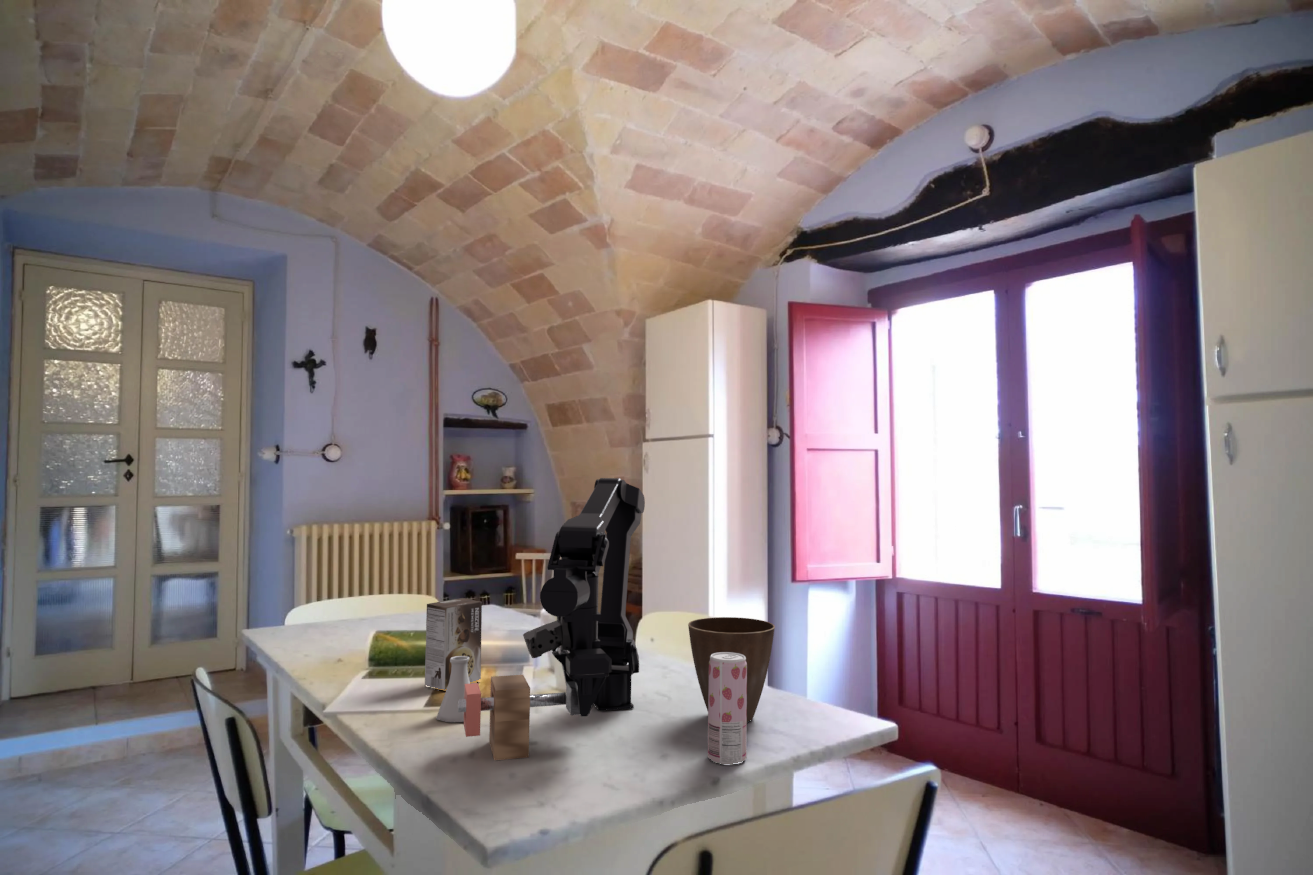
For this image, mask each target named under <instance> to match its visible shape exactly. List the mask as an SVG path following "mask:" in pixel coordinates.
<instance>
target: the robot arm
mask: <svg viewBox="0 0 1313 875" xmlns="http://www.w3.org/2000/svg"><path fill="white" fill-rule="evenodd" d="M645 499H646V498H645V495H644V493H643V492H642V490H641V489H640V488H639V487H637V486H634V485H632V484H629V483H627V481H626V480H624V479H621V478H619V477H617V478H615V477H614V478H613V477H609V478H608V477H600V478H599V479H596V480H595V482H594V487H593V490H592V492H591V494H590V495H589V497H588V499H587V501H586V503H585V504H584V507H583V508H582V509H581V512H580V513H579V514H578V515H577V516H574V517H572V518H571V517H570V518H568V519H567V520H566V521H565V522H564V523H563V524H562V525H561V527H559V530H558V531H557V532H556V533H555V536H554V541H553V545H552V548H551V550H550V551H551V552H550V555H549V556H550V557H549V559H548V564H547V570H548V571H553V575H552V576H553V577H551V578H548V580H546V581H545V582H544V584H543V585H542V587H541V590H540V592H539V601H540V604H541V606H542V608H543V609H544V611H545V612H546V613H547V614H549V615H551V616H553V617H556V620H553V621H552V622H548V623H545V624H543V625H541V626H538V627H535V628H533V629H530V630H528V631H526V632H524V633H523V634H522V636H523V639H524V642H525V645H526V648H527V651H528V654H529V655H530V657H531V658H532V659H537V658H540V657H542V656H543V654H546V653H549V652H551V654H552V656H553V657H554V658H555V659H556V660H557V661H558V662H559V664H561V667H562V672H563V676H564V681H565V684H566V682H570V681H574V682H575V684H576V691H577V698H578V705H579V711H580V717H588V716H589V715H590V714H589V712H590V713H591V710H592V707H593V706H594V707H595V708H596V709H597V710H598V711H602V712H603V711H613V710H614V711H616V710H627V709H628V710H629V709H630V710H631V709H634V707H635V706H634V704H633V702H632V676H633V675H634V674H638V673H640V656H639V652H638V648H637V646H636V642H635V640H634V639H633V638H634V631H633V628H632V627H631V624H630V622H629V620H628V618H627V616H626V613H627V612H626V609H627V598H628V596H627V595H628V582H629V580H628V579H629V569H630V568H629V567H630V551H631V538H632V536H633V534H634V533H635V532H636V530H637V529H638V527H639V526H640V524H641V519H642V514H643V513H644V511H645V503H646V502H645V501H646V500H645ZM602 567H603V574H602V584H601V586H602V588H601V598H600V599H601V601H600V611H599V585H600V584H599V581H600V580H599V579H600V576H599V572H600V569H601V568H602Z"/></svg>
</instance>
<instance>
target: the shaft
mask: <svg viewBox="0 0 1313 875" xmlns="http://www.w3.org/2000/svg"><path fill="white" fill-rule="evenodd" d="M565 688H566V689H565V690H566V691H563V692H551V693H549V692H547V693H537V694H535V693H534V694H533V693H532V694H530V708H537V707H551V706H553V707H554V706H562V705H563V706H564V705H565V709H566V710H567V712H568V714H569V715H570V716H578V715H580V711H579V705H578V698H577V691H576V684H575V682H574V681H570V682H566V683H565ZM490 710H494V697H490V696H489V697H481V711H484V712H485V711H490ZM458 712H466V699H460V700H458ZM588 715H591V711H590V712H589V714H588Z"/></svg>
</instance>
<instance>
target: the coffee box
mask: <svg viewBox="0 0 1313 875" xmlns="http://www.w3.org/2000/svg"><path fill="white" fill-rule="evenodd" d="M482 605H483V602H482V601H481V600H480V601H479V600H475V599H472V598H466V597H465V598H464V597H461V598H454V599H449V600H440V601H436V602H431V603H426V619H425V620H426V622H425V623H426V625H425V626H426V627H425V628H426V630H425V631H426V632H425V661H424V664H425V667H424V668H425V669H424V686H425V685H427V686H430V687H435V688H438V689H444V690H445V689H447V687H448V684H449V680H450V675H451V667H452V664H451V662H450V658H451V657H455V656H466V657H469V661H468V662H467V670H468V677H469V681H470V682H473V681H476V680H479V679H481V678H482V677H481V676H482V670H481V669H482V623H483V622H482V613H483V612H482V611H483V610H482V608H483V607H482ZM481 680H482V679H481Z"/></svg>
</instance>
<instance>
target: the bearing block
mask: <svg viewBox="0 0 1313 875" xmlns="http://www.w3.org/2000/svg"><path fill="white" fill-rule="evenodd" d="M489 694H490V695H489V697H494V710H489V734H488V741H489V742H488V743H489V746H490V750H491V754H492V758H493V761H504V760H514V759H524V758H529V756H530V721H531V720H530V719H531V717H530V716H531V714H530V713H531V707H530V695H531V687H530V685H529V683H528V681H527V679H526V678H525V675H524V674H513V675H512V674H510V675H497V676H490V693H489Z"/></svg>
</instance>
